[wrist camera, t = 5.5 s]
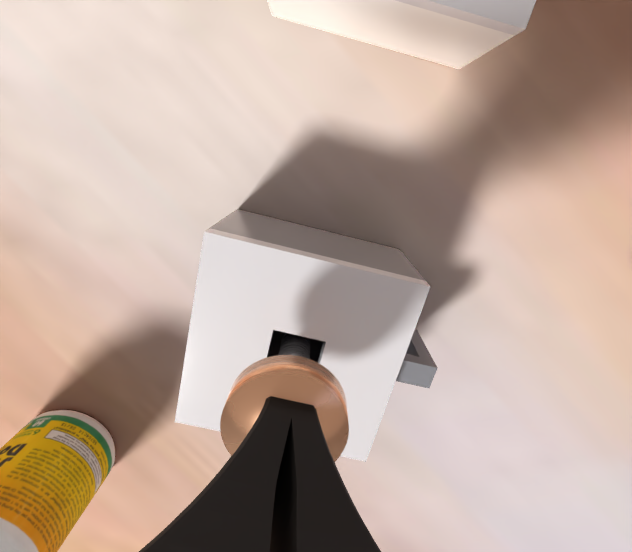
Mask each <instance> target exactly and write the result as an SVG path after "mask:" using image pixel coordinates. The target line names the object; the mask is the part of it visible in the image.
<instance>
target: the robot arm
mask: <svg viewBox="0 0 632 552" xmlns="http://www.w3.org/2000/svg"><path fill="white" fill-rule="evenodd" d="M139 552H381V551H380V549H379V548H378V546H377V544H376V543H375V541H374V540H373V538H372V536H371V534H370V533H369V531H368V529H367V527H366V526H365V524H364V522H363V520H362V519H361V517H360V515H359V513H358V511H357V509H356V507H355V505H354V504H353V502H352V500H351V498H350V496H349V493H348V491H347V489H346V487H345V485H344V483H343V481H342V479H341V476H340V474H339V472H338V470H337V467H336V465H335V462H334V460H333V458H332V455H331V453H330V450H329V448H328V445H327V442H326V440H325V437H324V434H323V431H322V428H321V425H320V422H319V418H318V415H317V411H316V409H315V407H314V405H310V404H305V403H300V402H296V401H291V400H286V399H282V398H277V397H273V396H270V397H268V398H266V400H265V403H264V406H263V408H262V410H261V412H260V414H259V416H258V418H257V420H256V421H255V423H254V425H253V426H252V428H251V430H250V431H249V433H248V434H247V435H246V437H245V438H244V440H243V441H242V443H241V444H240V446H239V447H238V449H237V450H236V451H235V452H234V454H233V455H232V456H231V458H230V459H229V460H228V461H227V463H226V464H225V465H224V466H223V468H222V469H221V470H220V471H219V473H218V474H217V475H216V476H215V477H214V479H213V480H212V481H211V482H210V483H209V484H208V485H207V486H206V488H205V489H204V490H203V491H202V492H201V493H200V494H199V495H198V496H197V497H196V498H195V499H194V501H193V502H192V503H191V504H190V505H189V506H188V507H187V508H186V509H185V510H184V511H183V512H182V513H181V514H179V515H178V516H177V517H176V518H175V519H174V520H173V521H172V522H171V523H170V524H169V525H168V526H167V527H166V528H165V529H164V530H163V531H162V532H161V533H160V534H159V535H157V536H156V537H155V538H154V539H153V540H152V541H151V542H150V543H148V544H147V545H146V546H145V547H144V548H142V549H141V550H140V551H139Z"/></svg>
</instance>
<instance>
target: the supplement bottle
mask: <svg viewBox="0 0 632 552" xmlns="http://www.w3.org/2000/svg"><path fill="white" fill-rule="evenodd" d="M114 462H115V446H114V442H113V439H112V437H111V435H110V433H109V432H108V431H107V429H106V428H105V427H104V426H103V425H102V424H101V423H99V422H98V421H97V420H95V419H94V418H92V417H90V416H88V415H86V414H83V413H80V412H77V411H71V410H55V411H49V412H45V413H42V414H40V415H39V416H37V417H35V418H34V419H33V420H31V421H30V422H29V423H28V424H27V425H26V426H25V427H23V428H22V429H21V430H20V431H19V432H18V433H17V434H16V435H15V436H14V437H13V438H12V439H10V440H9V441H8V442H7V443H6V444H5V445H4V446H3V447H2V448H1V449H0V552H57V551H58V550H59V548H60V546H61V545H62V543H63V542H64V540H65V539H66V537H67V536H68V534H69V533H70V531H71V530H72V528H73V527H74V525H75V524H76V522H77V521H78V519H79V518H80V516H81V515H82V513H83V512H84V510H85V509H86V507H87V506H88V504H89V503H90V501H91V499H92V498H93V496H94V495H95V493H96V492H97V490H98V489H99V487H100V486H101V484H102V483H103V482H104V480H105V478H106V477H107V475H108V474H109V472H110V471H111V469H112V467H113V465H114Z"/></svg>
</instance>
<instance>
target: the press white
mask: <svg viewBox="0 0 632 552" xmlns="http://www.w3.org/2000/svg"><path fill="white" fill-rule="evenodd" d="M267 2H268V5H269V8H270V11H271V14H272V16H273V17H277V18H280V19H284V20H287V21H291V22H294V23H298V24H301V25H305V26H308V27H312V28H315V29H319V30H322V31H326V32H329V33H333V34H337V35H340V36H344V37H347V38H351V39H354V40H358V41H361V42H365V43H368V44H372V45H375V46H379V47H382V48H386V49H389V50H393V51H396V52H400V53H403V54H407V55H410V56H414V57H417V58H421V59H424V60H428V61H431V62H435V63H438V64H442V65H445V66H449V67H452V68H456V69H461V68H462V67H464V66H466V65H467V64H469V63H471V62H472V61H474V60H476V59H477V58H479V57H480V56H482V55H484V54H485V53H487V52H489V51H490V50H492V49H494V48H495V47H497V46H499V45H500V44H502V43H504V42H505V41H507V40H509V39H510V38H512V37H514V36H515V35H517V34H519V33H520V32H522V31H524V30H525V29H526V27H527V24H528V21H529V19H530V16H531V13H532V11H533V8H534V5H535V2H536V0H267Z"/></svg>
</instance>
